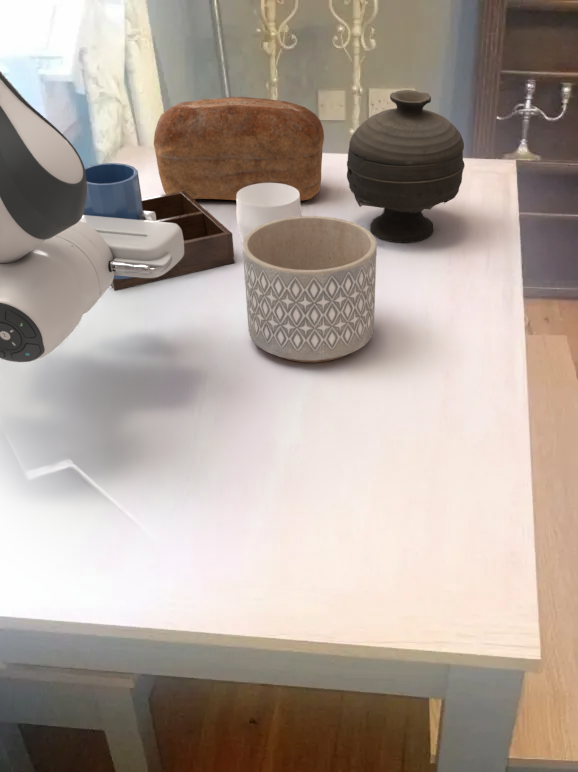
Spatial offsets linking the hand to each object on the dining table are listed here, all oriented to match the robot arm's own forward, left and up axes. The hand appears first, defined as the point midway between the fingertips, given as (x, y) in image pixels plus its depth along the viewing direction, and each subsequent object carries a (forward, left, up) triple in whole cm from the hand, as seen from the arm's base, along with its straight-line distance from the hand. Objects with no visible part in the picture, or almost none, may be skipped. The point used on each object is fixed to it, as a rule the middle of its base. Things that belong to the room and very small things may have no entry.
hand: (117, 214), depth 107 cm
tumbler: (-1, -1, -6) cm, 6 cm away
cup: (+23, +8, -17) cm, 30 cm away
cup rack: (+11, +25, -16) cm, 32 cm away
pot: (+49, +14, -17) cm, 54 cm away
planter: (+20, -10, -17) cm, 28 cm away
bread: (+33, +40, -17) cm, 54 cm away
